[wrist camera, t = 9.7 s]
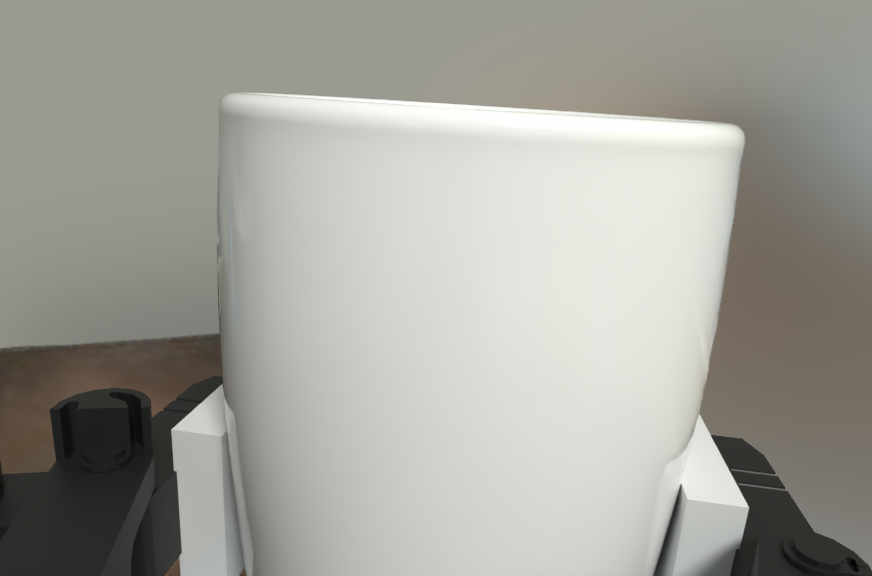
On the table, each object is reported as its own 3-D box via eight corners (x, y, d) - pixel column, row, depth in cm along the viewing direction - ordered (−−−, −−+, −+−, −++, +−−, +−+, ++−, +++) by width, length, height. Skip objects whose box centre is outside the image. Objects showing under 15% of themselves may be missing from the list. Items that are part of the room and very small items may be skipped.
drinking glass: (280, 722, 16) (273, 92, 12) (549, 723, 16) (638, 115, 12) (192, 1156, 9) (101, 86, 5) (643, 1142, 10) (911, 136, 5)
